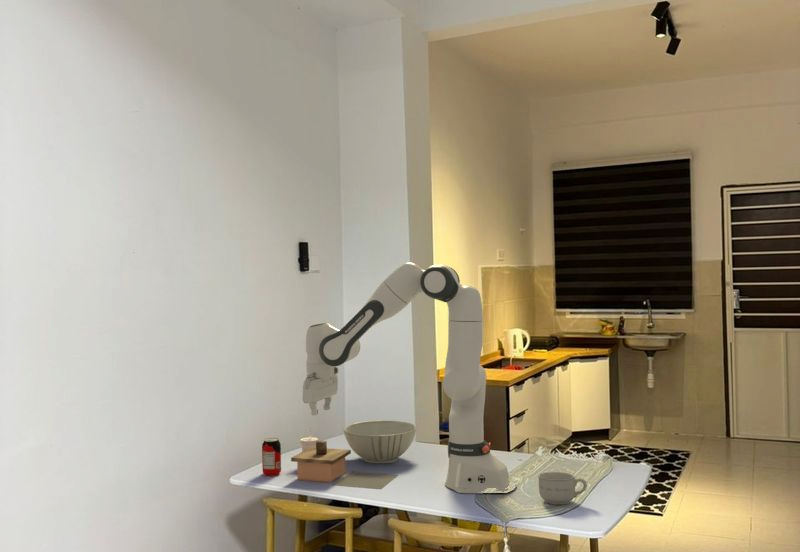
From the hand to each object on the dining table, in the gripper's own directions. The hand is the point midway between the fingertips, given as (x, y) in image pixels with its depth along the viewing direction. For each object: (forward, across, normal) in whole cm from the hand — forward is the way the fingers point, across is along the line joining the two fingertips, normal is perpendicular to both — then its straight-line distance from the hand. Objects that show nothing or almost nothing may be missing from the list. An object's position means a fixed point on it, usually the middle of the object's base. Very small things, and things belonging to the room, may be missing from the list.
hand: (320, 412), depth 240 cm
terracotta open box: (+22, 0, 0) cm, 22 cm away
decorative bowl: (+22, +27, -11) cm, 37 cm away
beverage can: (+22, 0, +19) cm, 29 cm away
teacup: (+23, -5, -80) cm, 83 cm away
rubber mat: (+22, 0, -16) cm, 27 cm away
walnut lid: (+15, 0, 0) cm, 15 cm away
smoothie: (+22, +13, +11) cm, 28 cm away
